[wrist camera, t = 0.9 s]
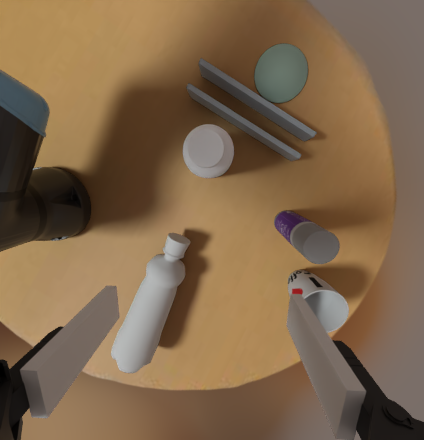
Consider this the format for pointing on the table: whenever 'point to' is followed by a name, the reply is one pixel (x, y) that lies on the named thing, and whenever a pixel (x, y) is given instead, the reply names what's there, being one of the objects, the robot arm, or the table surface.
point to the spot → (281, 73)
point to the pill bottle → (208, 151)
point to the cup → (320, 299)
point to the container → (307, 237)
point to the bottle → (150, 307)
